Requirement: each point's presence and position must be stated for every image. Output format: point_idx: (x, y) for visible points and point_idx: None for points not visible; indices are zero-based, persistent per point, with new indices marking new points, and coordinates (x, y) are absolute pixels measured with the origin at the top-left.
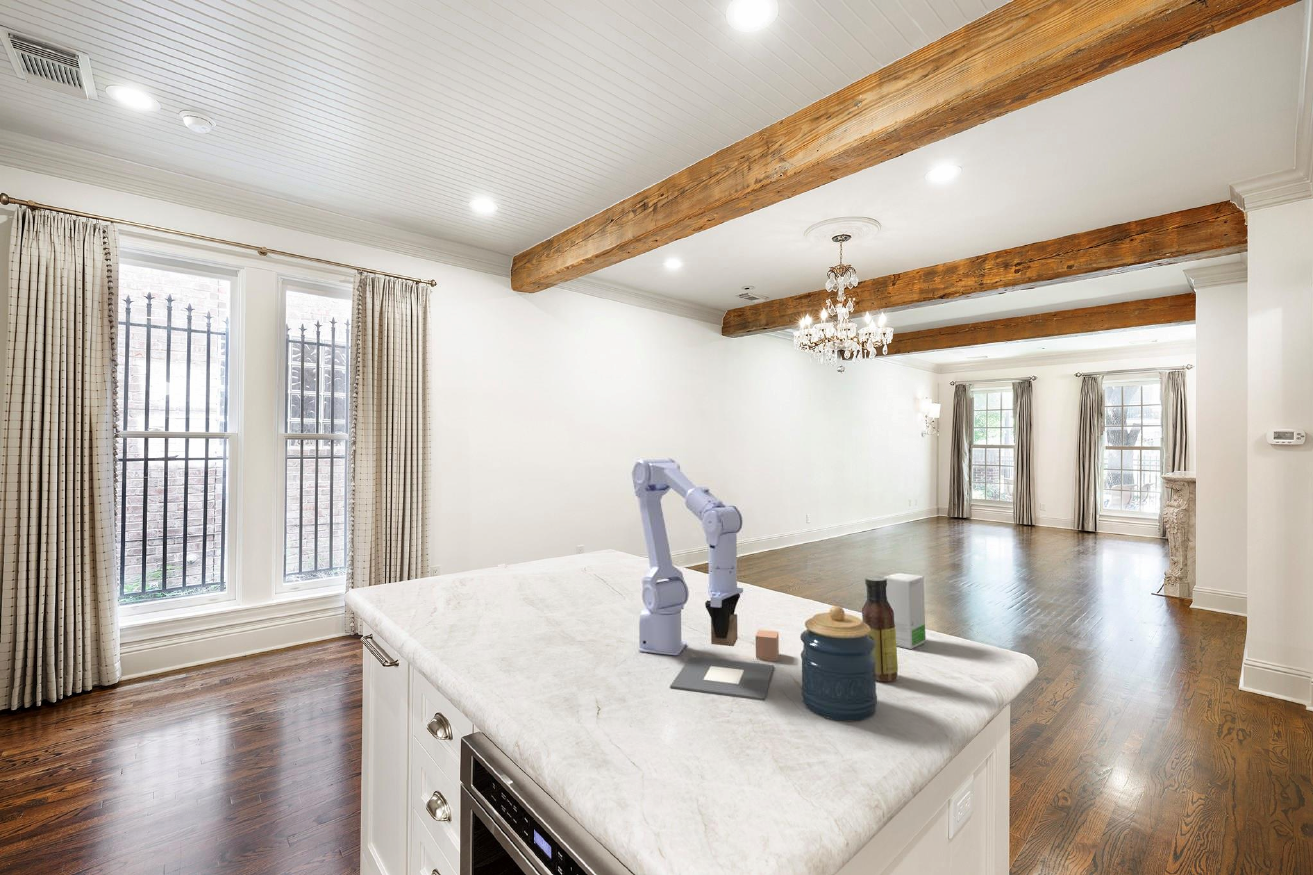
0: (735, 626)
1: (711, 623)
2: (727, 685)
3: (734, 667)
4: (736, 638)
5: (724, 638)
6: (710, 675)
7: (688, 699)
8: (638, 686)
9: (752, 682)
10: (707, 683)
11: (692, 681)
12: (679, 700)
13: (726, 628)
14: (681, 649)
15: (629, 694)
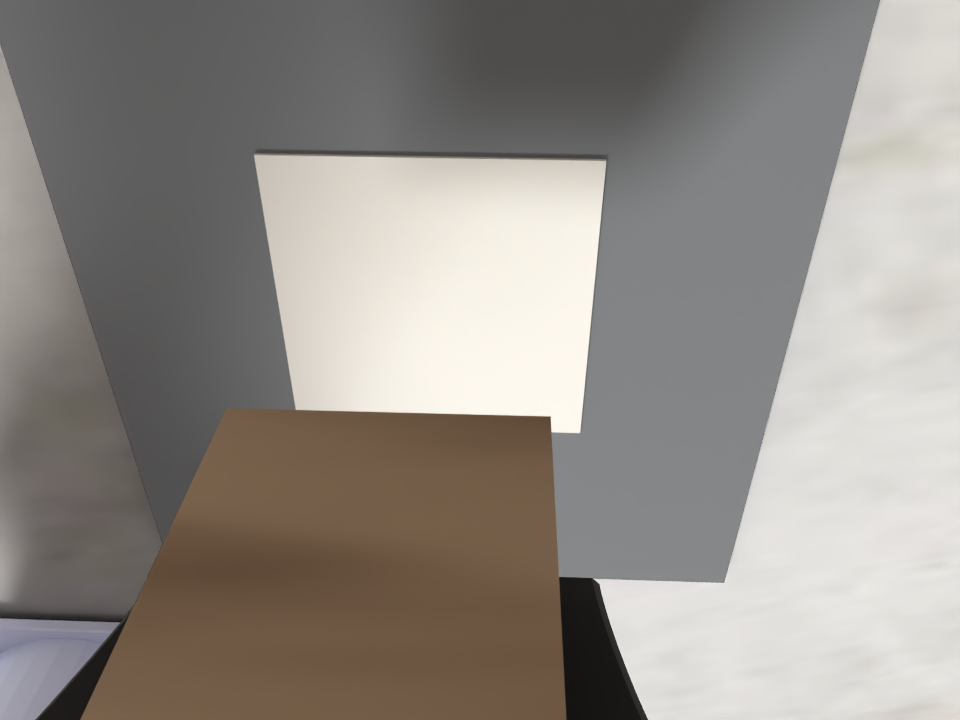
0: (340, 599)
1: None
2: (649, 247)
3: (226, 249)
4: (309, 432)
5: (600, 591)
6: (487, 399)
7: (896, 453)
8: (721, 694)
9: (529, 24)
10: (639, 393)
11: (623, 486)
12: (913, 496)
13: (639, 717)
14: (95, 629)
15: (833, 706)
